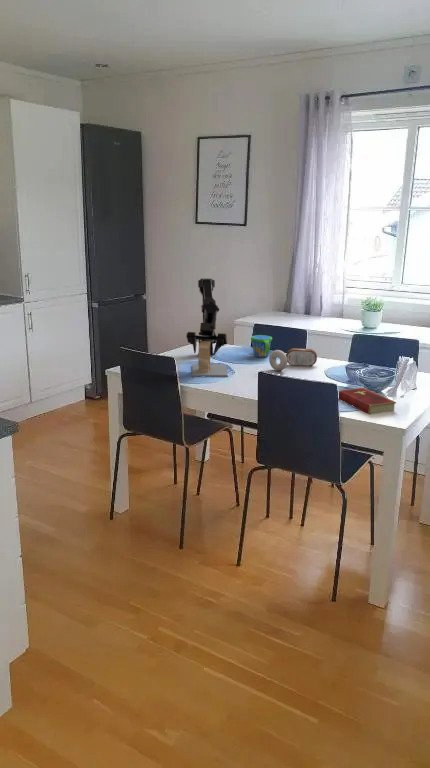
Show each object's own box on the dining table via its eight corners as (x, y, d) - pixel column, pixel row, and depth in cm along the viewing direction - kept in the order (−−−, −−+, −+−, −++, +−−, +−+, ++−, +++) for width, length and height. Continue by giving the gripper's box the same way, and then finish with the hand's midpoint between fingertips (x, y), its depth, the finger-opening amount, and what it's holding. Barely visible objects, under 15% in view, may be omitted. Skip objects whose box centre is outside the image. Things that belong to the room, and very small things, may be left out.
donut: (267, 369, 291) (267, 348, 288) (271, 368, 293) (272, 347, 290) (284, 373, 284) (284, 352, 281) (288, 372, 286) (289, 351, 284)
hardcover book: (368, 415, 228) (369, 405, 227) (337, 399, 247) (338, 389, 246) (395, 412, 233) (396, 401, 231) (362, 396, 251) (363, 386, 250)
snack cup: (275, 359, 310) (276, 339, 307) (255, 360, 308) (256, 340, 305) (266, 352, 325) (266, 333, 322) (247, 353, 323) (247, 334, 320)
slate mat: (192, 365, 296) (192, 364, 296) (225, 365, 296) (225, 364, 296) (192, 376, 277) (192, 375, 276) (227, 376, 277) (227, 375, 277)
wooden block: (200, 369, 287) (200, 341, 284) (210, 369, 286) (210, 342, 283) (198, 371, 282) (198, 344, 279) (208, 372, 282) (208, 344, 278)
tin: (316, 365, 299) (317, 348, 297) (316, 367, 296) (317, 350, 294) (285, 364, 301) (286, 347, 298) (285, 366, 298) (286, 349, 295)
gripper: (187, 314, 284) (181, 342, 277) (226, 316, 281) (222, 344, 274) (190, 328, 294) (185, 355, 287) (229, 330, 291) (225, 358, 283)
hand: (204, 353), depth 282 cm, fingers open, 9 cm apart
